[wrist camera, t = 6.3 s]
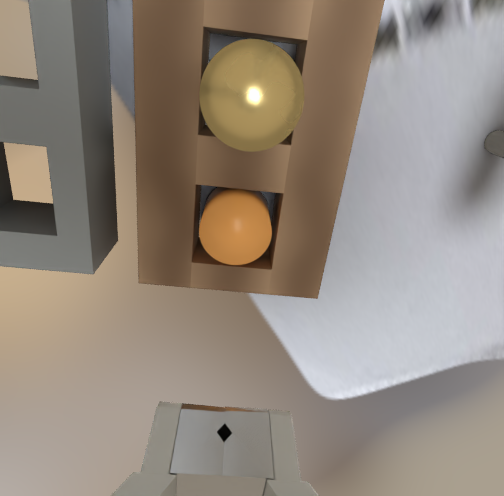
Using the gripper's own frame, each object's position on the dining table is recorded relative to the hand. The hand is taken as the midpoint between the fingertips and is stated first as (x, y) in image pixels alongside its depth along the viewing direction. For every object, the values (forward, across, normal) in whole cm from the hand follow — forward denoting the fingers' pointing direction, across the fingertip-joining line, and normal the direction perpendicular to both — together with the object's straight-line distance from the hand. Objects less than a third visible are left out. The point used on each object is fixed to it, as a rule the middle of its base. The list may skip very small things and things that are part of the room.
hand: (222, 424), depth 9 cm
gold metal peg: (+19, 0, -6) cm, 20 cm away
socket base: (+19, 0, -3) cm, 20 cm away
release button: (+18, 0, +2) cm, 18 cm away
